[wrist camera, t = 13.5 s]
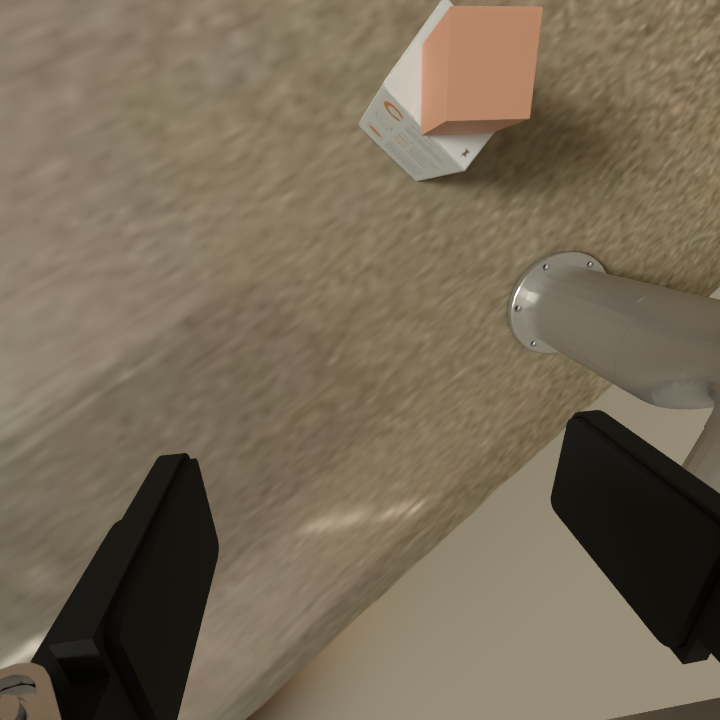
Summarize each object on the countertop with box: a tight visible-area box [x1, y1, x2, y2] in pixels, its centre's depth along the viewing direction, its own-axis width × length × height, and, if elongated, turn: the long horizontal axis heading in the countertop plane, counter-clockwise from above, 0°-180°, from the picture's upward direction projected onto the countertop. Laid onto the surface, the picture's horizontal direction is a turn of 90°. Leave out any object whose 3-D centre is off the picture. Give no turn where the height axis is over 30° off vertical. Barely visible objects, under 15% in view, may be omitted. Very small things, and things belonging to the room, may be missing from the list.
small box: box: [359, 0, 494, 181], centre depth 31 cm, size 8×6×13 cm
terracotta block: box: [421, 6, 543, 136], centre depth 22 cm, size 5×5×5 cm
